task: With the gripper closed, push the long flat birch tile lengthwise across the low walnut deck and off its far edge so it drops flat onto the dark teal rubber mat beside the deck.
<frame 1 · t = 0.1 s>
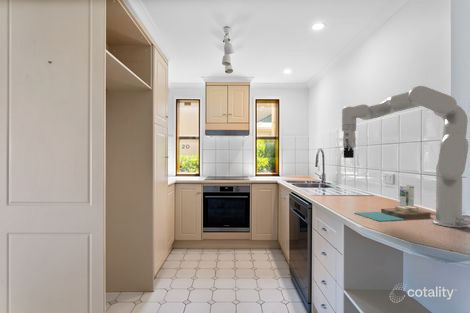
hand: (348, 157, 150), 31 cm above the countertop, tool pointing down, fingers open, 9 cm apart
teal mat: (378, 216, 137), on the countertop
walnut deck: (405, 215, 141), on the countertop
birch tile: (406, 210, 142), point 2 cm above the countertop, touching walnut deck
syrup box: (406, 208, 161), on the countertop
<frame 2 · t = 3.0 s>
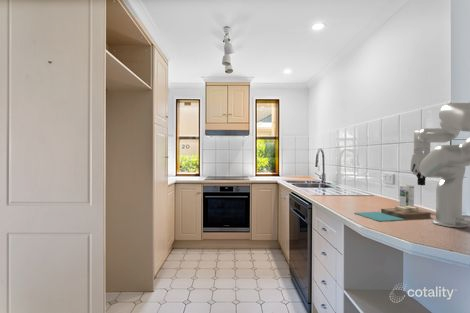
hand: (421, 185, 144), 16 cm above the countertop, tool pointing down, fingers closed
nothing on the countertop moved.
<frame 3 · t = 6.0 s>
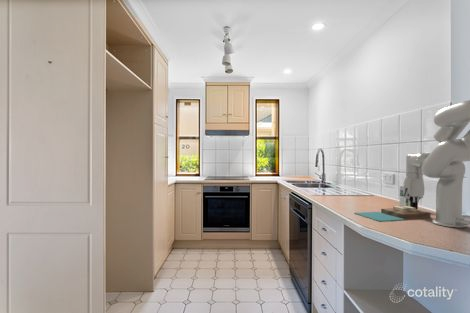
hand: (413, 209, 143), 3 cm above the countertop, tool pointing down, fingers closed
birch tile: (404, 210, 142), point 3 cm above the countertop, touching gripper, walnut deck
everything else where it was.
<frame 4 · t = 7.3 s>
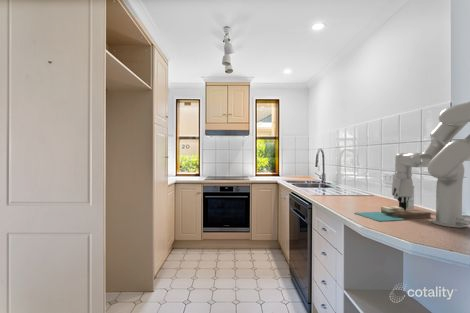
hand: (402, 209, 141), 3 cm above the countertop, tool pointing down, fingers closed
birch tile: (392, 210, 141), point 2 cm above the countertop, touching gripper, walnut deck
everything else where it was.
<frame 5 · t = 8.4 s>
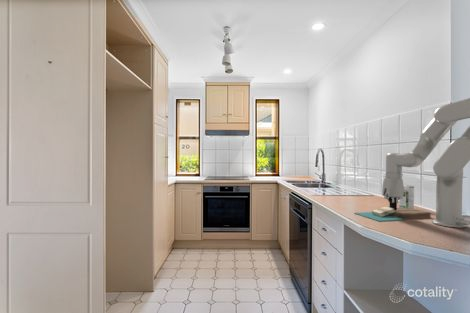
hand: (393, 209, 140), 3 cm above the countertop, tool pointing down, fingers closed
birch tile: (383, 213, 139), point 1 cm above the countertop, tilted 14°, touching gripper
everything else where it was.
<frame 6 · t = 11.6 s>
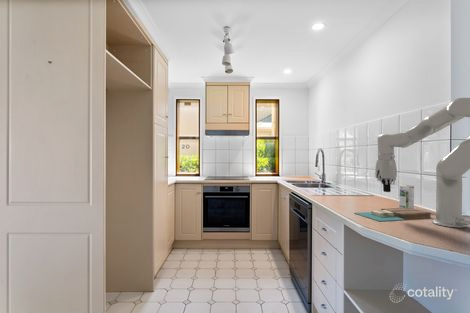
hand: (386, 191, 138), 13 cm above the countertop, tool pointing down, fingers closed
birch tile: (382, 215, 139), resting on teal mat
everything else where it was.
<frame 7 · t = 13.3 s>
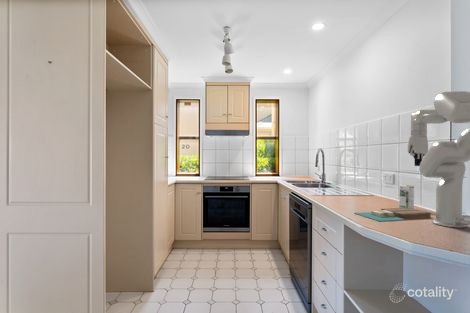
hand: (418, 165, 148), 27 cm above the countertop, tool pointing down, fingers closed
nothing on the countertop moved.
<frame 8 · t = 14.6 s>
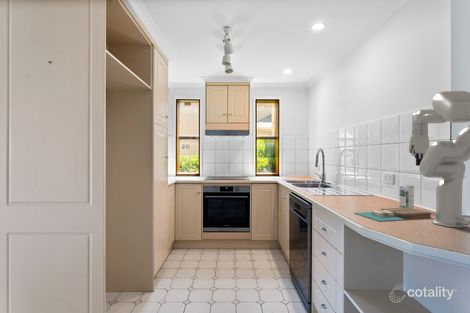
hand: (419, 165, 148), 27 cm above the countertop, tool pointing down, fingers closed
nothing on the countertop moved.
at the end: birch tile resting on teal mat; birch tile inside the target area on the teal mat (3.5 cm from its centre), point 0.4 cm above the teal mat's base; birch tile touching teal mat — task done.
